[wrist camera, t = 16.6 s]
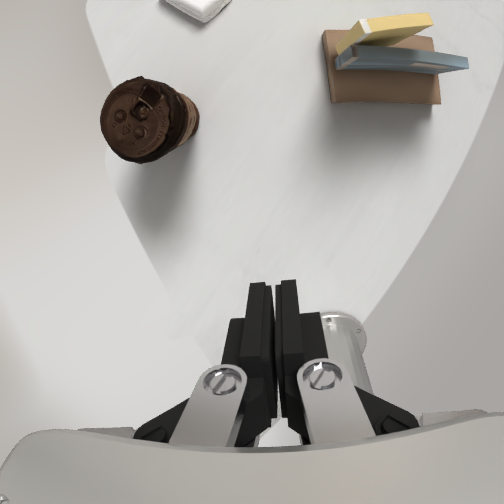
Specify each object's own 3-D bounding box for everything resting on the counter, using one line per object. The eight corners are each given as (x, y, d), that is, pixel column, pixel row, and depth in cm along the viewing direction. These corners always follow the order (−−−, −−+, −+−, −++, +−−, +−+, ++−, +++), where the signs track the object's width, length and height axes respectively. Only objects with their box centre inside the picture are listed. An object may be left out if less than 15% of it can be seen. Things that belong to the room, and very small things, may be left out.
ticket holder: (432, 104, 32) (476, 105, 23) (331, 102, 34) (352, 97, 24) (423, 41, 29) (464, 25, 19) (321, 35, 30) (338, 8, 21)
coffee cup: (204, 79, 34) (172, 61, 22) (216, 142, 37) (189, 154, 25) (139, 96, 35) (86, 92, 23) (151, 156, 38) (102, 175, 26)
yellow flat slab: (334, 46, 28) (358, 19, 18) (389, 36, 27) (428, 12, 17) (338, 56, 28) (364, 33, 19) (393, 45, 27) (433, 25, 17)
